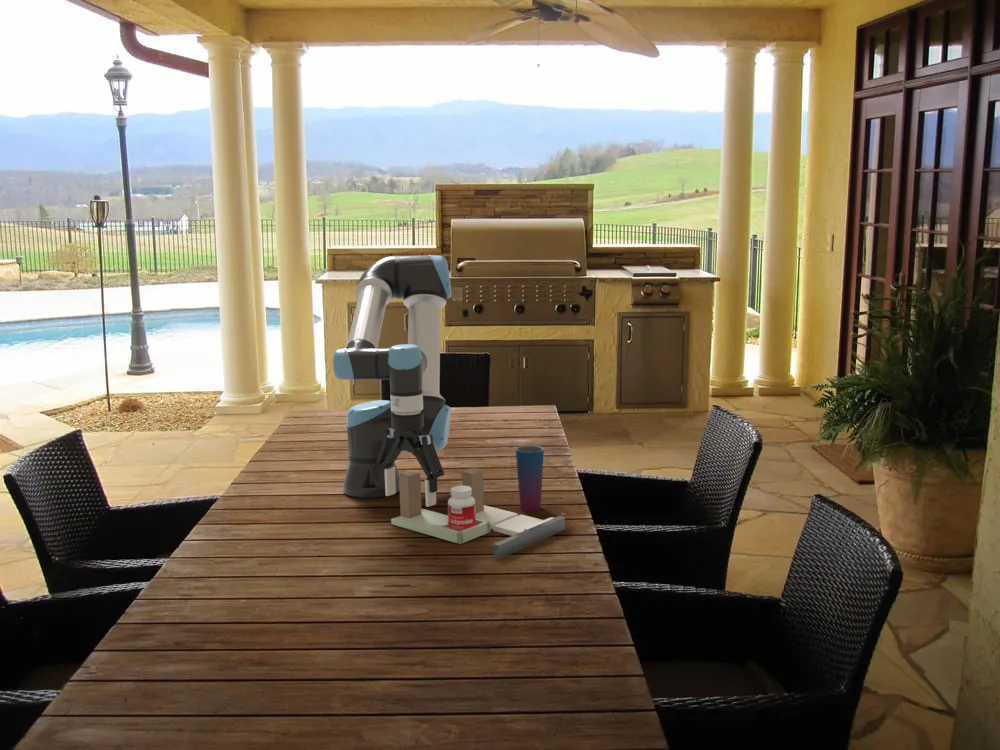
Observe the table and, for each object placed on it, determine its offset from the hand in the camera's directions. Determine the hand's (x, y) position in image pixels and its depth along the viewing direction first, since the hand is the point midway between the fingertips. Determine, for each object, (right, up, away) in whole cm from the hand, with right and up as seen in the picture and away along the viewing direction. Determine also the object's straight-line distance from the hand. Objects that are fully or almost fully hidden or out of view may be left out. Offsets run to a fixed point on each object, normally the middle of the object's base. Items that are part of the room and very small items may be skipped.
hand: (410, 499), depth 223 cm
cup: (+29, -3, +9) cm, 30 cm away
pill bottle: (+13, -7, -10) cm, 17 cm away
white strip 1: (+18, -5, 0) cm, 19 cm away
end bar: (+28, -7, -15) cm, 33 cm away
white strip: (+27, -6, -7) cm, 28 cm away
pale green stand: (+7, -6, -5) cm, 11 cm away
